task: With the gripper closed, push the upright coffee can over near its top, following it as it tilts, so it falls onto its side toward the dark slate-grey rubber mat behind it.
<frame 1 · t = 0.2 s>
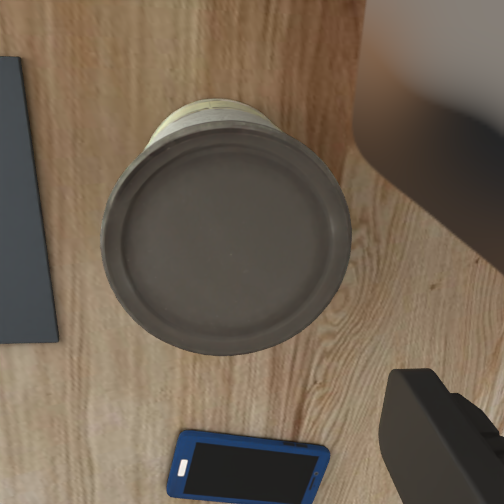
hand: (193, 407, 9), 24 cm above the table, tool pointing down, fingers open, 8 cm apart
cell phone: (248, 466, 42), on the table
coffee can: (218, 173, 32), on the table
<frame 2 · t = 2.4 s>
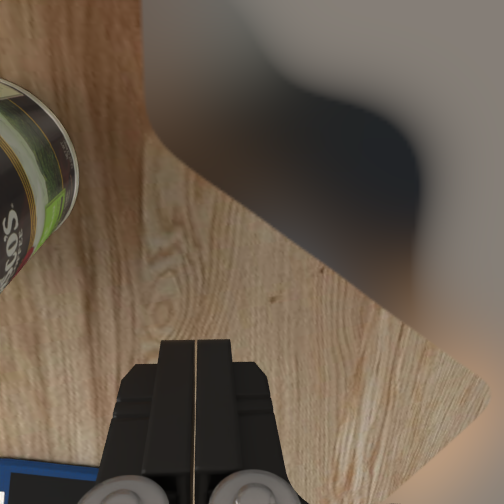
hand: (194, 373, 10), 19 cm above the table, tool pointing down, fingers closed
cell phone: (83, 497, 37), on the table
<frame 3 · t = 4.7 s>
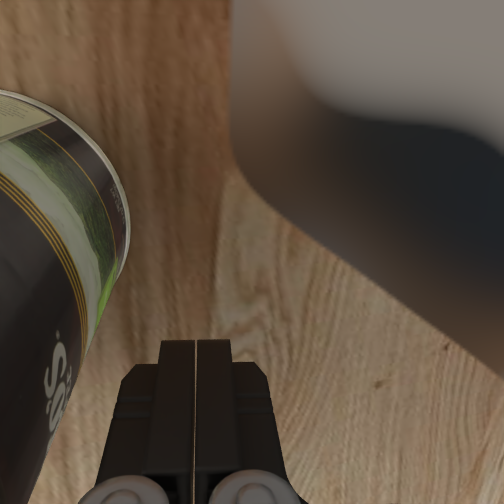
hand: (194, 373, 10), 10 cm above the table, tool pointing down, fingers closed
coffee can: (3, 216, 19), on the table, touching gripper
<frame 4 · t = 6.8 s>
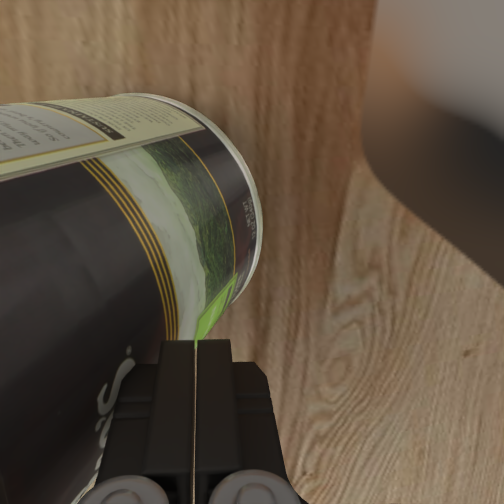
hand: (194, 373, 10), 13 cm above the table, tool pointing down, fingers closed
coffee can: (152, 214, 20), point 2 cm above the table, touching gripper
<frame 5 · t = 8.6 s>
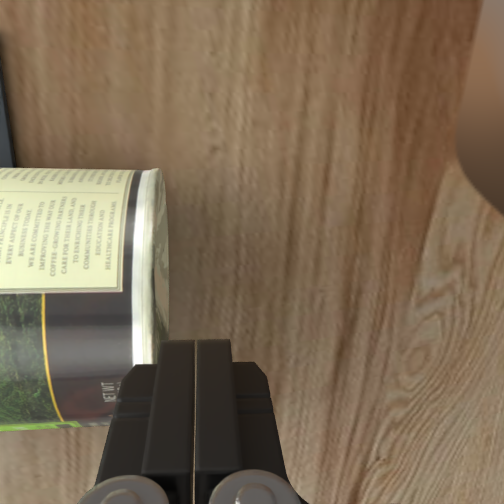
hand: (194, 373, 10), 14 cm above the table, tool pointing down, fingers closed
coffee can: (169, 292, 19), point 5 cm above the table, touching mat
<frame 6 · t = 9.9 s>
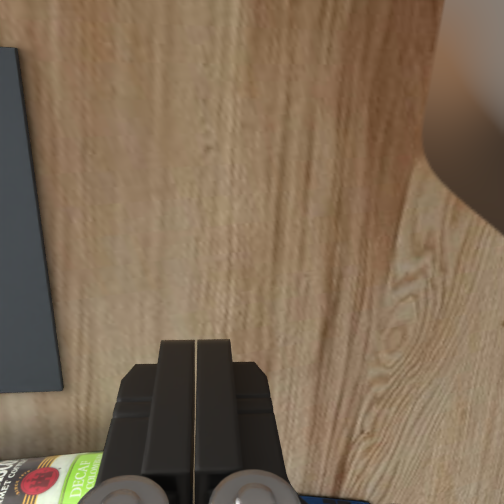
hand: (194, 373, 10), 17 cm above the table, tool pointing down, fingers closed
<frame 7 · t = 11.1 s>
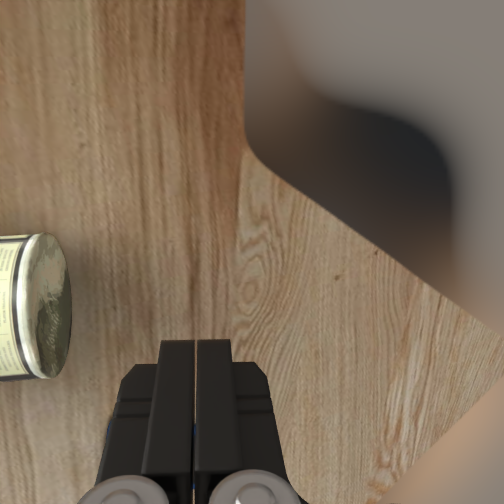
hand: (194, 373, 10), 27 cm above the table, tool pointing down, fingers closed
coffee can: (56, 304, 33), point 5 cm above the table, touching mat
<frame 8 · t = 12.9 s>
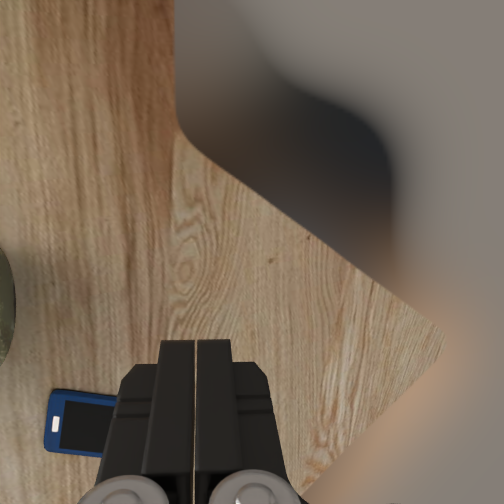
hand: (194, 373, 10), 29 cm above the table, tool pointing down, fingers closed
cell phone: (120, 424, 47), on the table
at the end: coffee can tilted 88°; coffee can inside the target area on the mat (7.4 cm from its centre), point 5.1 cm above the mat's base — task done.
